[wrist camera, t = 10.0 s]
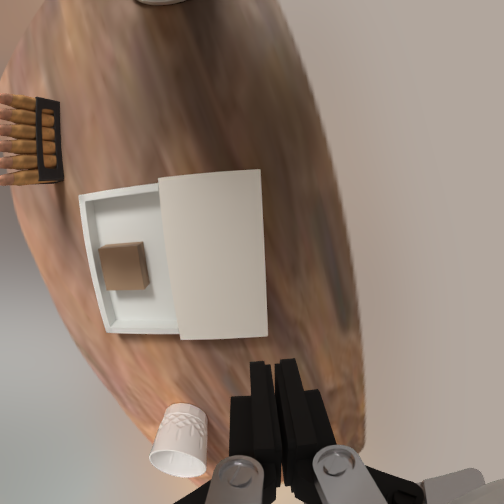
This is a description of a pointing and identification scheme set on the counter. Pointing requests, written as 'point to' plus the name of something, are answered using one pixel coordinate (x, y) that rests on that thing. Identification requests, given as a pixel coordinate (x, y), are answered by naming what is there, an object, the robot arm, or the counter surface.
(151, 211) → the box
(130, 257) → the walnut tile
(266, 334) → the platform
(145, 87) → the counter surface
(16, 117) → the ammunition clip
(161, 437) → the white cup
